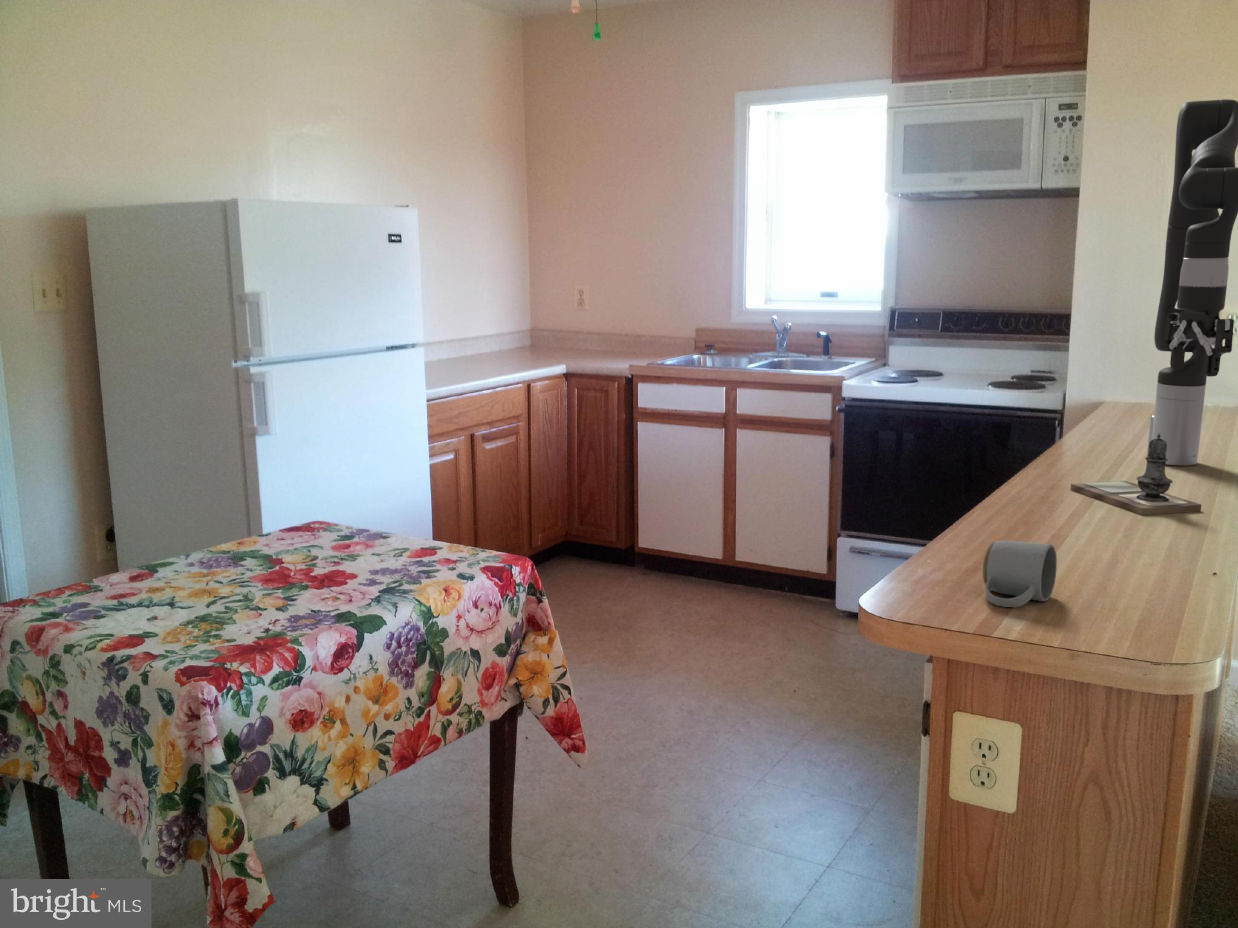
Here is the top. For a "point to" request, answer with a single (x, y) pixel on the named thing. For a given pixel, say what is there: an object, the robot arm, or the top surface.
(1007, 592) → the ceramic mug
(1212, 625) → the top surface
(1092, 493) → the board
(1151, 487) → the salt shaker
